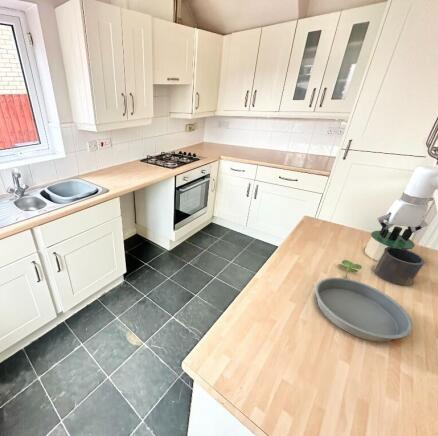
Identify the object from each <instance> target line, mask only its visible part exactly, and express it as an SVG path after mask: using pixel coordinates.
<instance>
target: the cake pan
mask: <svg viewBox="0 0 438 436" xmlns="http://www.w3.org/2000/svg"><path fill="white" fill-rule="evenodd" d="M345 278H346V277H327V278H324V279H321V280H320V281H318V283H317V284H316V285H315V295H316V298H317V299H316V300H317V306H318V307H319V309H320V311H321V312H322V313H323V315H324V316H325V317H326V318H327V319H328V320H329V321H330V322H331V323H333V324H334V325H335V326H337V327H338V328H339V329H341V330H342V331H345V332H346V333H348V334H350V335H353V336H355V337H358V338H360V339H363V340H366V341H372V342H376V343H377V342H381V343H382V342H384V343H385V342H389V341H393V340H396V339H402V338H405V337H408V336H409V335H410V334H412V331H413V327H414V326H413V321H412V318H411V316H410V315H409V314H408V312H407V311H406V310H405V309H404V307H403V306H402V305H400V304H399V303H398V302H397V301H396V300H395V299H393V298H392V297H390V296H389V295H388V294H386V293H385V292H382V291H381V290H379V289H378V288H375V287H373V286H371V285H368V284H366V283H363V282H361V281H357V280H354V279H350V278H346V279H345Z"/></svg>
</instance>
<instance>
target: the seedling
mask: <svg viewBox="0 0 438 436" xmlns="http://www.w3.org/2000/svg"><path fill="white" fill-rule="evenodd" d="M337 265H338V266H339V267H340V268H342V269H345V270H347V271H346V273H345V277H344V278H345V279H347V277H348V273H349V272H352V273H358V272H359V270H361V269H362V265H361V264H359V263H353V262H352V261H350V260H346V259H343V260H342V261H341V263H338V264H337Z"/></svg>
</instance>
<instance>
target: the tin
mask: <svg viewBox="0 0 438 436" xmlns="http://www.w3.org/2000/svg"><path fill="white" fill-rule="evenodd" d="M387 247H390V246H387V245H384V244H382V243H380V242H378V241H376V240H375V239H374V238H372V236H371V235H370V237H369V240H368V242H367V244H366V246H365V248H364V253H365V255H367V257H369V258H370V259H372V260H374V261H376V262H378V260H379V258H380V256H381V254H382V252H383V251H384V249H385V248H387ZM406 250H409V251H411V250H412V249H406Z"/></svg>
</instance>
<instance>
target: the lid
mask: <svg viewBox="0 0 438 436" xmlns="http://www.w3.org/2000/svg"><path fill="white" fill-rule="evenodd" d="M402 230H403V227H402V226H398V225H394V227H393V229H392V231H389V232H388V234H387V236H386V237H385V238H382V237H381V236H380V231H381V230H374V231H372V232H371V234H370V237H371V236H372V238H374V239H375V240H376V241H378V242H380V243H382V244H384V245H387V246H390V247H398V248H403V249H411V250H412V249H414V248H415V246H416V244H415V242H414V241H413V240H411V239H410V238H409V239H408V241H405V240H404V239H403V238H402V237H401V236H402V234H401V232H402Z"/></svg>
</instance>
